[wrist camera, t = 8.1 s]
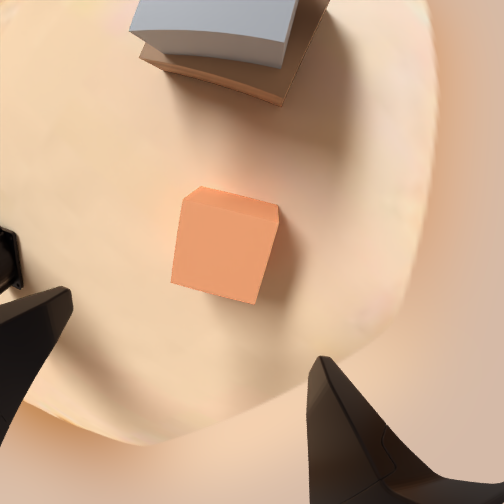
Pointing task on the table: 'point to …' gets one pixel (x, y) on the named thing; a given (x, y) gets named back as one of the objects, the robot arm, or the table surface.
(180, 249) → the terracotta block
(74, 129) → the table surface
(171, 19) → the grey block
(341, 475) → the robot arm
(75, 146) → the table surface
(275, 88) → the walnut base
